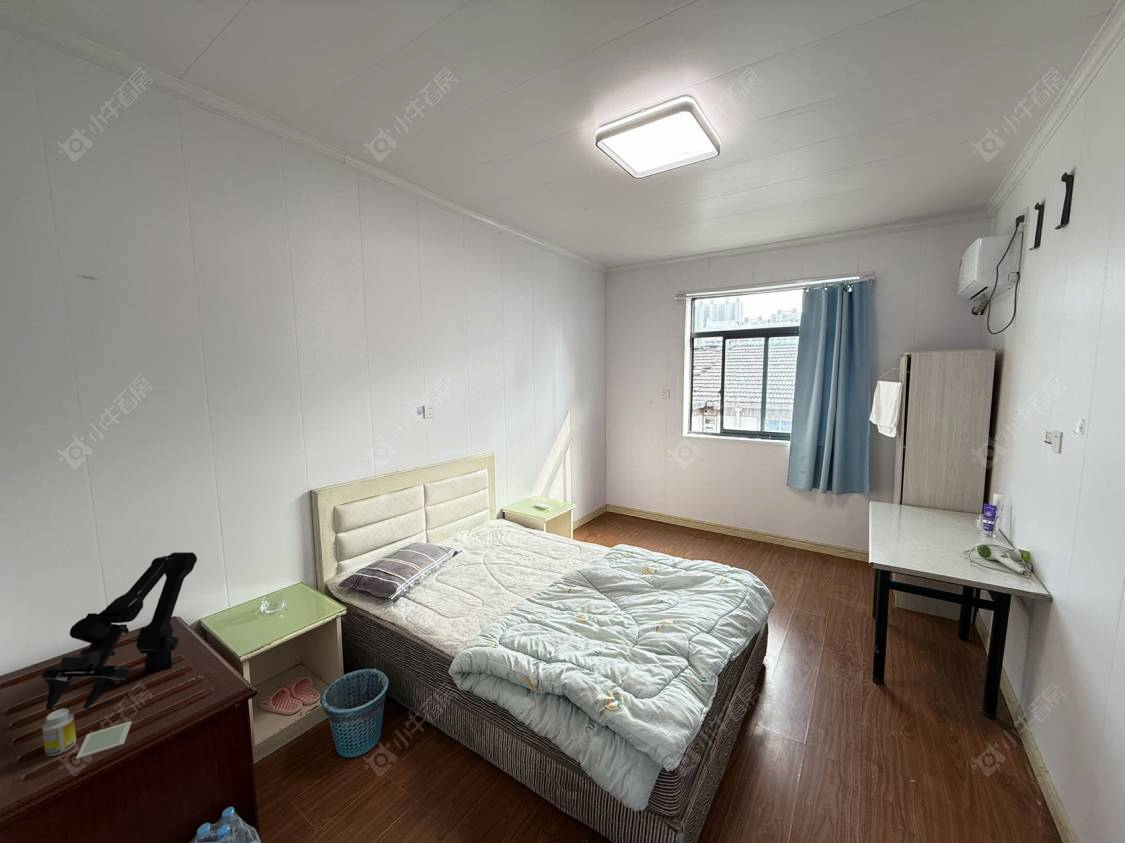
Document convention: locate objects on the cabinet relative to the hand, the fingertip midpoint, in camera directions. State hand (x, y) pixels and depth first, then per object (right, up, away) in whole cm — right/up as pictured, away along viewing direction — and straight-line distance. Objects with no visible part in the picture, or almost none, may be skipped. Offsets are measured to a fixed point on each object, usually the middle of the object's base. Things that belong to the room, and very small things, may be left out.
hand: (66, 709), depth 119 cm
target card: (+9, -10, +2) cm, 13 cm away
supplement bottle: (0, -10, -1) cm, 10 cm away
